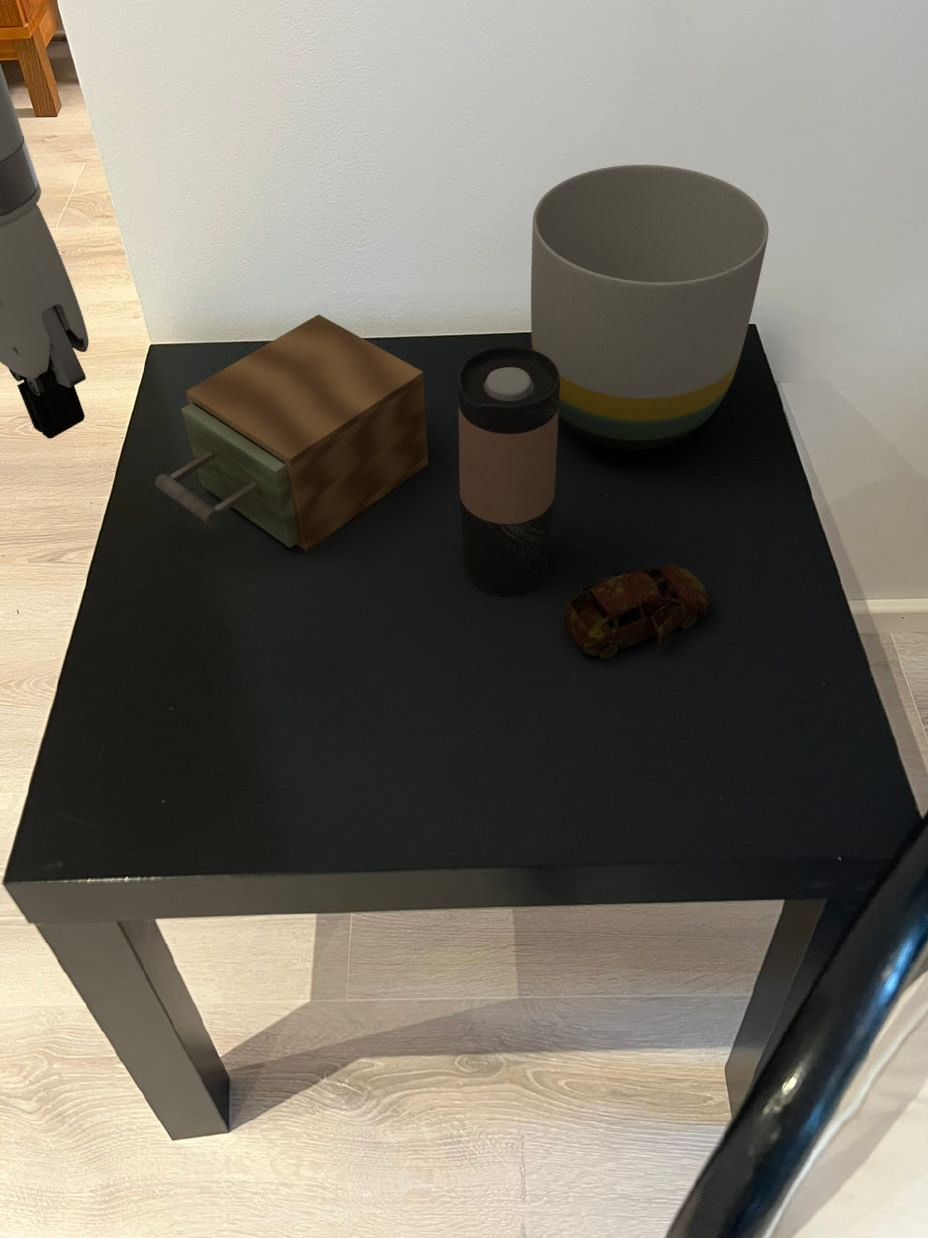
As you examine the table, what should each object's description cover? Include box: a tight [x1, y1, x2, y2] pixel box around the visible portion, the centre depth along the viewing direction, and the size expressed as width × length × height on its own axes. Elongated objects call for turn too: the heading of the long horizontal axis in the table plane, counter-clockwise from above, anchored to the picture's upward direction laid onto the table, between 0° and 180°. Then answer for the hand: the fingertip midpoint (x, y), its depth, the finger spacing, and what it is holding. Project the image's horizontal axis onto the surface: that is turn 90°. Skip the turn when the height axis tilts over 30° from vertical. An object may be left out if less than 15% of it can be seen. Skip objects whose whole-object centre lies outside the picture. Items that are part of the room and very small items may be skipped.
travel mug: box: [457, 345, 560, 597], centre depth 87 cm, size 8×8×20 cm
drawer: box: [154, 403, 300, 549], centre depth 96 cm, size 20×12×9 cm, turn 137°
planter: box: [530, 164, 770, 451], centre depth 99 cm, size 20×20×21 cm
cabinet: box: [185, 314, 429, 552], centre depth 99 cm, size 16×14×11 cm
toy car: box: [563, 564, 710, 660], centre depth 88 cm, size 12×7×5 cm, turn 115°
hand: (60, 424), depth 78 cm, fingers closed
